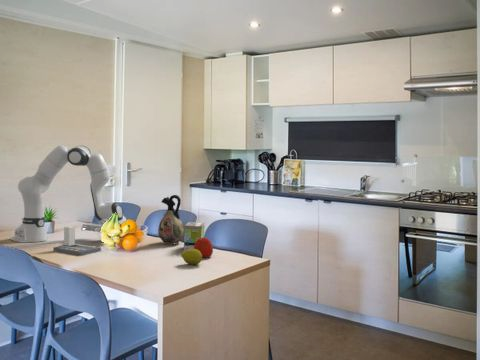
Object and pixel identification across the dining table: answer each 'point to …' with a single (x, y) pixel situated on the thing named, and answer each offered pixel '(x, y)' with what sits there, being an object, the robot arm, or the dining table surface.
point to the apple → (204, 247)
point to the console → (77, 249)
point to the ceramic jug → (171, 222)
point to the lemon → (192, 256)
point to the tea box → (192, 234)
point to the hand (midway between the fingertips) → (88, 229)
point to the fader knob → (69, 236)
